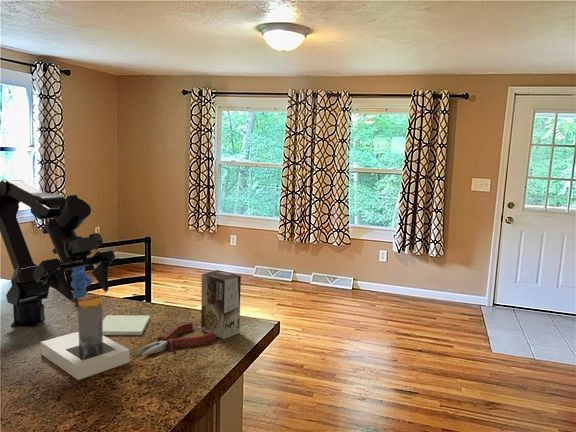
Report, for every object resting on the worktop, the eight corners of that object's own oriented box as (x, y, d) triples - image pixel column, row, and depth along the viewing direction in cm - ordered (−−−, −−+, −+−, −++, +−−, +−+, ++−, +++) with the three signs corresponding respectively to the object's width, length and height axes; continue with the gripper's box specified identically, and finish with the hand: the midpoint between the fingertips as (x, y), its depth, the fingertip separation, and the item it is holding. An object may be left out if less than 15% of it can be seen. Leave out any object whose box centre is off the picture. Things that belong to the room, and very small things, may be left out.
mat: (94, 335, 123) (94, 331, 122) (106, 318, 134) (106, 315, 134) (141, 335, 124) (141, 331, 124) (150, 318, 136) (150, 315, 136)
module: (76, 367, 105) (74, 302, 103) (83, 357, 109) (82, 295, 107) (99, 367, 105) (98, 302, 103) (105, 357, 110) (105, 295, 108)
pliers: (124, 351, 115) (124, 341, 114) (189, 329, 130) (189, 320, 130) (152, 366, 108) (152, 355, 107) (217, 341, 123) (218, 332, 123)
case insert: (41, 354, 110) (40, 341, 110) (90, 339, 119) (90, 328, 119) (78, 380, 99) (77, 366, 99) (129, 362, 108) (129, 349, 108)
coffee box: (240, 333, 128) (242, 275, 126) (223, 339, 123) (224, 279, 121) (217, 324, 134) (218, 269, 131) (199, 330, 129) (200, 273, 126)
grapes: (98, 303, 147) (98, 265, 146) (75, 306, 143) (75, 268, 142) (88, 293, 156) (88, 258, 155) (66, 296, 152) (66, 260, 151)
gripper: (41, 226, 104) (68, 288, 101) (113, 218, 120) (139, 271, 116) (21, 251, 110) (46, 311, 106) (92, 241, 125) (116, 292, 122)
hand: (90, 295), depth 112 cm, fingers open, 9 cm apart
